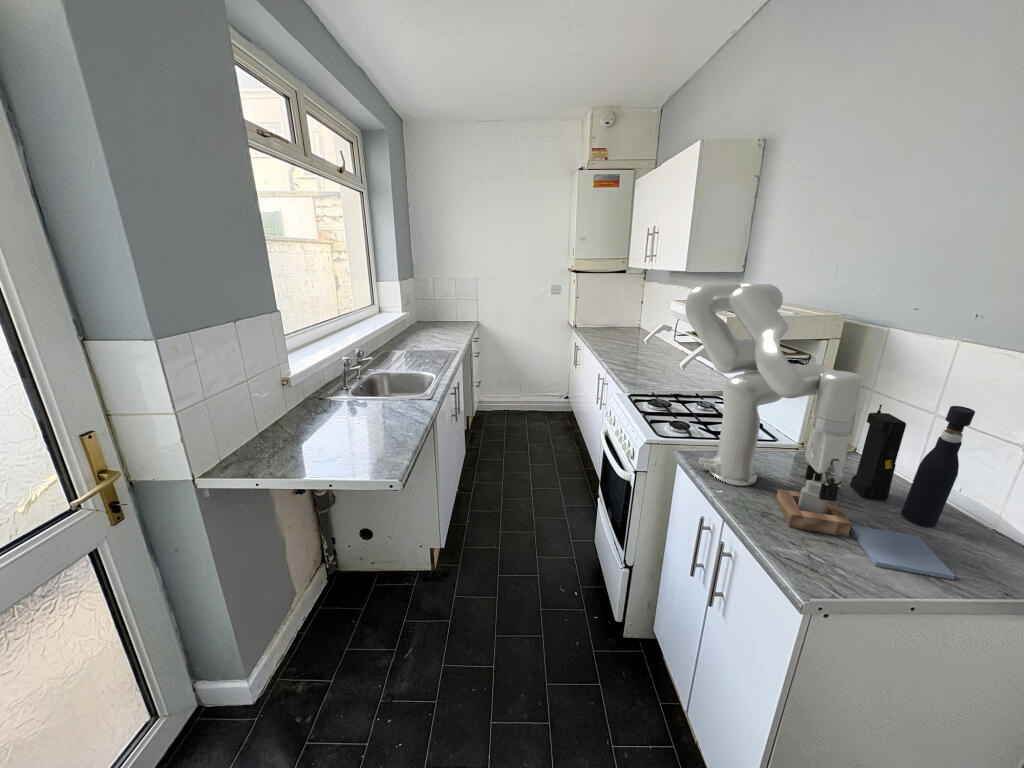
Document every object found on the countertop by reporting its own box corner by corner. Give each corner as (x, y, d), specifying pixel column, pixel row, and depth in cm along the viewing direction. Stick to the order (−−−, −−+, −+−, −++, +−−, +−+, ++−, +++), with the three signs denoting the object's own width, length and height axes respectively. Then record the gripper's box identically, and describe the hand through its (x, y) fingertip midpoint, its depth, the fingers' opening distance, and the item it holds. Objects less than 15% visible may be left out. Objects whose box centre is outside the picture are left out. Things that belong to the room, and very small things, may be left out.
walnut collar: (788, 526, 100) (791, 514, 99) (775, 500, 111) (778, 488, 109) (847, 536, 96) (851, 523, 95) (828, 508, 107) (831, 496, 106)
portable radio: (891, 503, 108) (918, 415, 101) (865, 501, 110) (889, 414, 102) (873, 487, 116) (896, 404, 108) (848, 485, 117) (870, 403, 110)
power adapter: (798, 510, 106) (807, 468, 103) (823, 519, 102) (834, 476, 99) (795, 515, 104) (804, 473, 101) (820, 524, 100) (831, 481, 97)
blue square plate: (875, 565, 87) (876, 561, 87) (849, 528, 99) (850, 525, 98) (953, 580, 83) (955, 575, 83) (916, 539, 95) (918, 536, 94)
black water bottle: (893, 511, 104) (934, 404, 94) (917, 509, 105) (960, 402, 94) (918, 528, 99) (965, 416, 88) (943, 526, 99) (993, 414, 88)
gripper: (801, 410, 105) (791, 471, 109) (827, 436, 89) (813, 505, 93) (836, 413, 102) (824, 475, 107) (869, 440, 86) (853, 511, 91)
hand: (819, 489), depth 100 cm, fingers open, 9 cm apart
